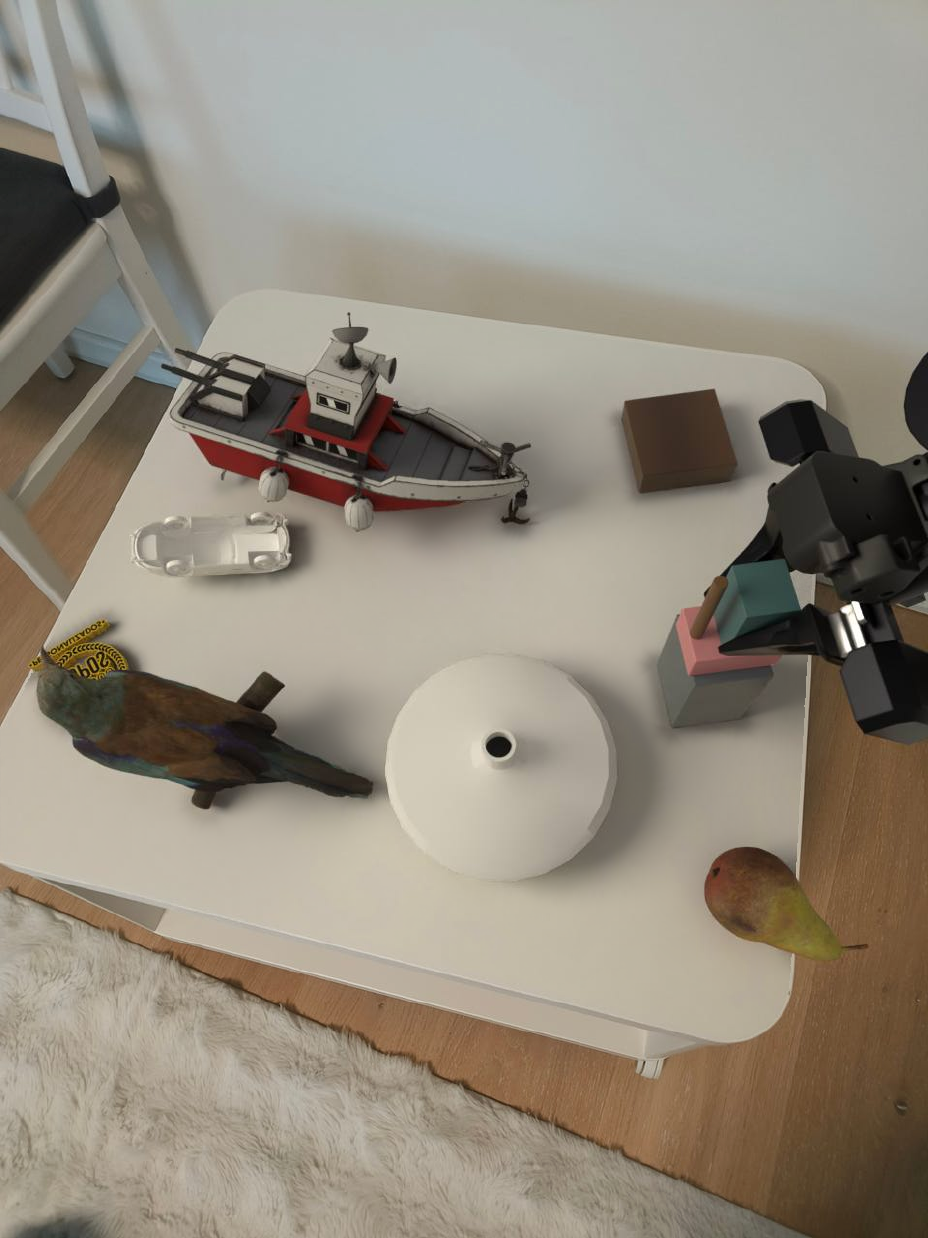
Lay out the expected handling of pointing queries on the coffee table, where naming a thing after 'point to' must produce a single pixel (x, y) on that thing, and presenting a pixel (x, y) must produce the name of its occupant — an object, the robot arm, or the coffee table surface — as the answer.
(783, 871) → the fruit
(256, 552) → the toy car
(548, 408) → the coffee table surface
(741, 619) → the peg stacking toy
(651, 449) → the walnut block
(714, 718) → the grey rectangular block
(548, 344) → the coffee table surface
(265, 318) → the coffee table surface
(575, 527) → the coffee table surface
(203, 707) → the bird figurine
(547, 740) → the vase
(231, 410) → the toy boat
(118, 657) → the logo
